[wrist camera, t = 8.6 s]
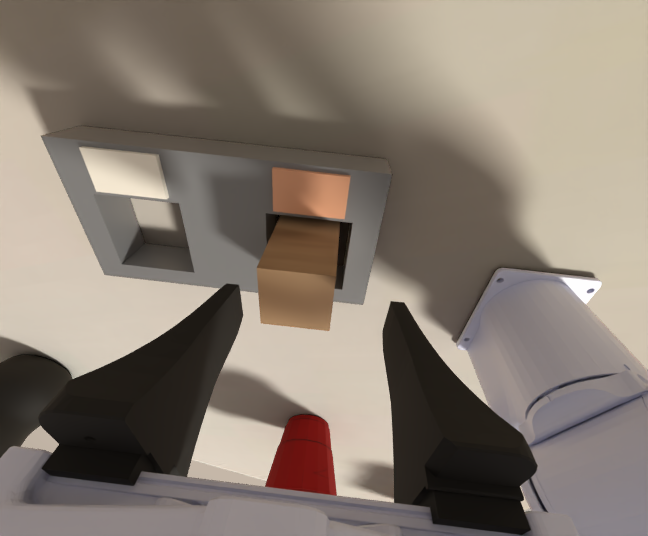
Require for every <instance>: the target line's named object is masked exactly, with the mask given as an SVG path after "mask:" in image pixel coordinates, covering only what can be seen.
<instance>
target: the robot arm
mask: <svg viewBox="0 0 648 536" xmlns="http://www.w3.org/2000/svg"><path fill="white" fill-rule="evenodd" d="M499 278H501V279H500V280H498V279H499ZM601 285H602V282H601V281H600V280H599V279H597V278H590V277H581V276H572V275H564V274H555V273H546V272H537V271H528V270H520V269H511V268H499V269H498V270H496V271H495V273H494V275H493V277H492V278H491V280H490V282H489V284H488V286H487V288H486V289H485V291H484V293H483V295H482V297H481V299H480V301H479V302H478V304H477V306H476V308H475V310H474V312H473V313H472V315H471V317H470V319H469V321H468V323H467V325H466V326H465V328H464V330H463V332H462V334H461V336H460V337H459V339H458V341H457V343H456V345H457V348H458V349H461V350H467V351H468V354H469V356H470V359H471V361H472V364H473V366H474V369H475V371H476V374H477V377H478V379H479V382H480V384H481V387H482V389H483V392H484V394H485V397H486V400H487V402H488V405H489V407H490V408H489V407H488V406H487V405H486V404H485V403H484V402H482V401H481V400H480V399H479V398H478V397H477V396H476V395H475V394H474V393H473V392H472V391H471V390H470V389H469V388H468V387H467V386H466V385H465V384H464V383H463V382H462V381H461V380H460V379H459V378H458V377H457V376H456V375H455V374H454V373H453V372H452V371H451V369H450V368H449V367H448V366H447V365H446V364H445V362H444V361H443V360H442V359H441V357H440V356H439V355H438V353H437V352H436V351H435V350H434V348H433V347H432V345H431V344H430V343H429V341H428V340H427V338H426V337H425V335H424V334H423V332H422V331H421V329H420V328H419V326H418V325H417V323H416V321H415V320H414V318H413V316H412V315H411V313H410V311H409V310H408V308H407V306H406V305H405V303H402V302H393V301H391V303H390V307H389V310H388V314H387V317H386V321H385V324H384V328H383V353H384V360H385V366H386V373H387V379H388V385H389V392H390V399H391V411H392V429H393V456H394V503H391V502H383V501H375V500H367V499H359V498H351V497H343V496H335V495H327V494H319V493H311V492H303V491H295V490H287V489H279V488H271V487H263V486H255V485H247V484H239V483H231V482H223V481H215V480H206V479H199V478H191V477H187V474H188V470H189V467H190V463H191V459H192V456H193V452H194V448H195V445H196V442H197V438H198V435H199V432H200V428H201V425H202V422H203V419H204V415H205V412H206V409H207V406H208V403H209V400H210V397H211V394H212V391H213V388H214V386H215V383H216V380H217V378H218V376H219V373H220V371H221V369H222V367H223V365H224V363H225V360H226V358H227V356H228V354H229V352H230V350H231V347H232V345H233V343H234V341H235V339H236V336H237V334H238V331H239V328H240V324H241V321H242V318H243V310H242V303H241V295H240V287H239V285H237V284H228V283H226V284H225V285H224V286H223V287H222V288H220V289H219V290H218V291H217V292H216V293H215V294H214V295H213V296H211V297H210V298H209V299H208V300H207V301H206V302H205V303H203V304H202V305H201V306H200V307H199V308H197V309H196V310H195V311H194V312H193V313H191V314H190V315H189V316H187V317H186V318H185V319H184V320H182V321H181V322H180V323H178V324H177V325H176V326H174V327H173V328H171V329H170V330H169V331H167V332H166V333H164V334H162V335H161V336H159V337H158V338H156V339H155V340H153V341H151V342H150V343H148V344H146V345H144V346H142V347H141V348H139V349H137V350H135V351H134V352H132V353H130V354H128V355H126V356H124V357H122V358H120V359H118V360H116V361H114V362H112V363H110V364H108V365H105V366H103V367H101V368H99V369H96V370H94V371H92V372H89V373H87V374H84V375H82V376H80V377H77V378H75V379H72V380H70V381H68V382H67V383H66V384H65V385H64V386H63V388H62V389H61V390H60V391H59V392H58V393H57V394H56V395H55V397H54V398H53V399H52V400H51V401H50V402H49V403H48V405H47V406H46V407H45V408H44V409H43V410H42V411H41V413H40V414H39V416H38V420H39V424H40V425H41V426H42V428H43V429H44V430H45V431H46V432H47V433H48V434H50V435H51V436H52V437H53V438H54V439H55V440H56V441H57V442H58V443H59V446H58V447H57V448H56V450H55V451H54V452H53V453H51V452H48V451H46V450H41V449H33V448H25V447H17V446H13V447H10V448H9V449H8V450H7V451H6V452H5V453H4V455H3V456H2V457H1V458H0V536H648V370H647V369H646V368H645V367H644V366H643V365H642V364H641V362H640V361H639V360H638V359H637V358H636V357H635V356H634V355H633V354H632V353H631V352H630V351H629V350H628V349H627V348H626V347H625V345H624V344H623V343H622V342H621V341H620V340H619V339H618V338H617V337H616V336H615V335H614V334H613V333H612V332H611V331H610V330H609V329H608V327H607V326H606V325H605V324H604V323H603V322H602V321H601V320H600V319H599V318H598V317H597V316H596V315H595V314H594V313H593V312H592V310H591V309H590V308H589V307H588V306H587V305H586V303H587V302H588V301H589V300H590V299H591V297H592V296H593V295H594V294H595V293H596V292H597V290H598V289H599V288H600V287H601ZM588 289H589V290H588ZM520 486H521V488H522V491H523V493H524V496H525V498H526V501H527V503H528V505H529V507H530V509H531V510H532V511H528V512H524V510H523V507H522V504H521V502H520V501H523V500H524V497H523V494H522V491H521V489H520Z"/></svg>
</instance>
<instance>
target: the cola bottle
mask: <svg viewBox="0 0 648 536" xmlns="http://www.w3.org/2000/svg"><path fill="white" fill-rule="evenodd" d="M70 380H72V377H71V375H70V374H69V372H68V371H67V370H66V369H65V368H63V367H62V366H61V365H59V364H57V363H56V362H54V361H51V360H49V359H46V358H43V357H39V356H34V355H19V356H15V357H12V358H9V359H7V360H5V361H3V362H1V363H0V458H1V457H2V456H3V455H4V453H5V452H6V451H7V450H8V449H9V448H10V447H13V446H17V447H21V445H22V443H23V442H24V441H25V439H26V438H27V436H28V435H29V434H30V433H31V432H33V431H34V430H35V429H36V428H38V427H39V426H40V424H39V420H38V416H39V414H40V413H41V411H42V410H43V409H44V408H45V407H46V406H47V405H48V403H49V402H50V401H51V400H52V399H53V398H54V397H55V395H56V394H57V393H58V392H59V391H60V390H61V389H62V388H63V386H64V385H65V384H66V383H67V382H68V381H70Z"/></svg>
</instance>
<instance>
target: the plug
mask: <svg viewBox="0 0 648 536" xmlns="http://www.w3.org/2000/svg"><path fill="white" fill-rule="evenodd" d="M339 231H340V221H331V220H322V219H313V218H305V217H296V216H287V215H280V218H279V220H278V222H277V224H276V226H275V229H274V231H273V233H272V235H271V237H270V240H269V242H268V244H267V246H266V248H265V251H264V253H263V255H262V257H261V259H260V262H259V264H258V266H257V280H258V293H259V306H260V319H261V323H263V324H272V325H281V326H290V327H299V328H307V329H316V330H325V331H329V329H330V321H331V313H332V305H333V297H334V289H335V281H336V271H337V258H338V245H339Z"/></svg>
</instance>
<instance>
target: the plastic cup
mask: <svg viewBox="0 0 648 536" xmlns="http://www.w3.org/2000/svg"><path fill="white" fill-rule="evenodd" d="M265 487H271V488H279V489H287V490H295V491H303V492H311V493H319V494H327V495H335V496H337V494H336V484H335V475H334V465H333V456H332V450H331V441H330V431H329V427H328V423H327V422H326V421H325V420H323V419H321V418H319V417H317V416H313V415H297V416H293V417H292V418H290V419H289V421H288V423H287V425H286V427H285V430H284V433H283V436H282V439H281V442H280V444H279V446H278V448H277V452H276V455H275V458H274V461H273V464H272V467H271V470H270V473H269V476H268V479H267V482H266V485H265Z"/></svg>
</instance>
